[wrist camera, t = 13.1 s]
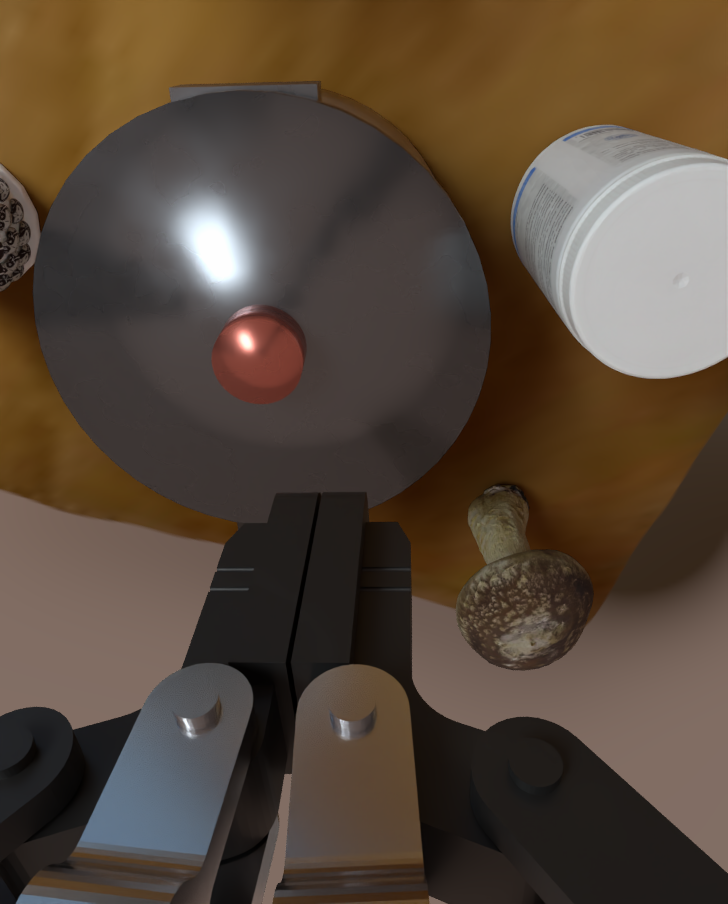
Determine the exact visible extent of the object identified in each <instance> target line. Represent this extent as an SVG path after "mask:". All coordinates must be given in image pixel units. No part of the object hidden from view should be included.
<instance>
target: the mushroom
mask: <svg viewBox="0 0 728 904" xmlns="http://www.w3.org/2000/svg"><path fill="white" fill-rule="evenodd" d="M528 511H529V505H528V500H527V499H526V497H525V496H524V493H523V491H522V490H520V489H519V488H518V487H517V486H515V485H499V484H498V485H495V486H492V487H490V488H488V489H486V490H485V491H484V493H483V495H481V496H479V497H477V498H476V499H475V500H474V501H473V502H472V503H471V505H470V507H469V511H468V524H469V526H470V528H471V531H472V534H473V536H474V537H475V539H476V541H477V544H478V546H479V550H480V551H481V552H482V554H483V557H484V559H485V561H486V563H487V565H486V566H484V567H483V568H482V569H480V570H479V571H478V572H477V573H475V574H474V575H473V576H472V577H471V578H470V579H469V581H468V582H467V583H466V584H465V585H464V587H463V588H462V590H461V592H460V594H459V596H458V599H457V605H456V616H457V622H458V627H459V629H460V631H461V633H462V635H463V636H464V638H465V639H466V641H467V643H468V644H469V645H470V646H471V647H472V648H473V649H474V650H475V651H476V652H477V653H478V654H479V655H480V656H482V657H483V658H484V659H486V660H487V661H488V662H489V663H491V664H493V665H496V666H498V667H502V668H506V669H511V670H530V669H537V668H541V667H543V666H547V665H549V664H551V663H553V662H554V661H556V660H558V659H560V658H561V657H563V656H564V655H565V654H566V653H567V652H568V651H569V650H571V648H572V647H573V646H574V645H575V644H576V642H577V641H578V639H579V637H580V635H581V633H582V632H583V629H584V627H585V624H586V621H587V618H588V615H589V613H590V609H591V607H592V602H593V595H594V593H593V586H592V582H591V579H590V577H589V575H588V573H587V572H586V571H585V569H584V568H583V567H582V566H581V565H580V564H579V563H578V562H577V561H576V560H575V559H574V558H572V557H571V556H569V555H567V554H565V553H562V552H560V551H557V550H547V549H546V550H530V547H529V544H528V541H527V538H526V535H525V531H526V525H527V522H528V517H529V512H528Z"/></svg>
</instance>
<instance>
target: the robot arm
mask: <svg viewBox="0 0 728 904" xmlns="http://www.w3.org/2000/svg"><path fill="white" fill-rule="evenodd" d="M284 774H292V777H291V790H290V803H289V816H288V829H287V843H286V856H285V866H284V874H283V878H282V881H281V883H278V885H277V887H276V890H275V894H274V898H273V904H429V896H431V897H434V898H436V899H438V900H441V901H443V902H445V903H448V904H728V873H727V872H725V871H724V870H723V869H722V868H721V867H720V866H719V865H718V864H717V863H716V862H714V861H713V860H712V859H711V858H710V857H709V856H708V855H707V854H705V853H704V852H703V851H702V850H701V849H700V848H699V847H698V846H697V845H696V844H694V843H693V842H692V841H691V840H690V839H689V838H688V837H687V836H686V835H684V834H683V833H682V832H681V831H680V830H679V829H678V828H677V827H676V826H675V825H673V824H672V823H671V822H670V821H669V820H668V819H667V818H666V817H664V816H663V815H662V814H661V813H660V812H659V811H658V810H657V809H656V808H655V807H653V806H652V805H651V804H650V803H649V802H648V801H647V800H646V799H645V798H643V797H642V796H641V795H640V794H639V793H638V792H636V790H635V789H633V788H632V787H631V786H630V785H629V784H628V783H627V782H626V781H625V780H624V779H622V778H621V777H620V776H619V775H618V774H617V773H616V772H615V771H614V770H612V769H611V768H610V767H609V766H608V765H607V764H606V763H605V762H604V761H602V760H601V759H600V758H599V757H598V756H596V754H595V753H594V752H592V751H591V750H590V749H589V748H588V747H587V746H586V745H585V744H584V743H582V742H581V741H580V740H579V739H578V738H577V737H576V736H574V735H573V734H572V733H570V732H569V731H568V730H566V729H564V728H563V727H561V726H559V725H557V724H555V723H552V722H550V721H547V720H544V719H540V718H533V717H516V718H510V719H506V720H503V721H501V722H498V723H496V724H495V725H493V726H491V727H490V728H489V729H488V730H486V731H483V730H480V729H476V728H473V727H471V726H467V725H464V724H461V723H458V722H456V721H453V720H451V719H448V718H446V717H444V716H443V715H441V714H439V713H438V712H436V711H435V710H434V709H432V708H431V707H430V706H429V705H428V704H427V703H426V702H425V701H424V700H423V699H422V697H421V696H420V695H419V693H418V692H417V690H416V688H415V686H414V683H413V680H412V596H411V547H410V541H409V540H408V538H407V536H406V535H405V533H404V532H403V530H402V528H401V527H400V525H399V523H398V522H369V513H368V499H367V492H323V493H322V495H321V493H320V492H298V493H276V495H275V497H274V500H273V504H272V507H271V511H270V514H269V518H268V521H267V523H244V524H243V526H242V527H241V528H240V529H239V530H238V531H237V532H236V533H235V534H234V535H233V536H232V537H231V538H230V539H229V540H228V541H227V542H226V543H225V546H224V549H223V552H222V555H221V558H220V560H219V563H218V567H217V572H215V575H214V578H213V581H212V583H211V586H210V592H208V595H207V597H206V601H205V603H204V606H203V609H202V612H201V615H200V617H199V620H198V624H197V626H196V629H195V632H194V635H193V637H192V640H191V644H190V646H189V649H188V652H187V655H186V658H185V661H184V663H183V666H182V668H181V670H178V671H176V672H175V673H173V674H171V675H169V676H168V677H167V678H165V679H164V680H163V681H162V682H160V683H159V684H158V685H157V686H156V687H155V688H154V690H153V691H152V692H151V694H150V695H149V696H148V698H147V700H146V702H145V703H144V705H143V707H142V709H140V710H138V711H135V712H133V713H131V714H128V715H125V716H122V717H119V718H115V719H111V720H108V721H104V722H100V723H96V724H93V725H89V726H86V727H82V728H78V729H75V730H73V729H72V727H71V725H70V723H69V722H68V720H67V718H66V717H65V716H63V715H62V714H61V713H60V712H57V711H56V710H54V709H50V708H45V707H30V708H23V709H19V710H15V711H12V712H9V713H6V714H4V715H2V716H0V904H262V901H263V896H264V892H265V888H266V883H267V879H268V875H269V870H270V866H271V862H272V858H273V854H274V850H275V845H276V841H277V837H278V832H279V814H278V809H279V804H280V798H281V792H282V786H283V780H284Z"/></svg>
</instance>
